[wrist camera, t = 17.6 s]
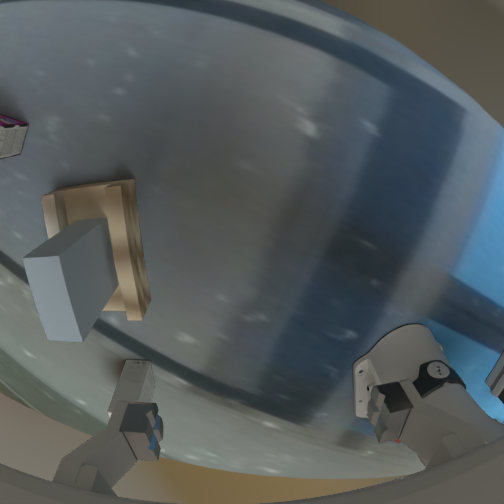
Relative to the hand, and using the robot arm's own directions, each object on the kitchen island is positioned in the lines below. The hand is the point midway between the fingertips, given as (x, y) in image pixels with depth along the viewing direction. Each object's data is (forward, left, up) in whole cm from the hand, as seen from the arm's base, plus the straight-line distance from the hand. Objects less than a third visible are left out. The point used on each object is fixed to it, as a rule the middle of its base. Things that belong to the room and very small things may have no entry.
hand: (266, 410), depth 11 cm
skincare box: (-26, +18, -32) cm, 45 cm away
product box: (-4, +18, -29) cm, 34 cm away
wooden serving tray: (-4, +19, -32) cm, 37 cm away
